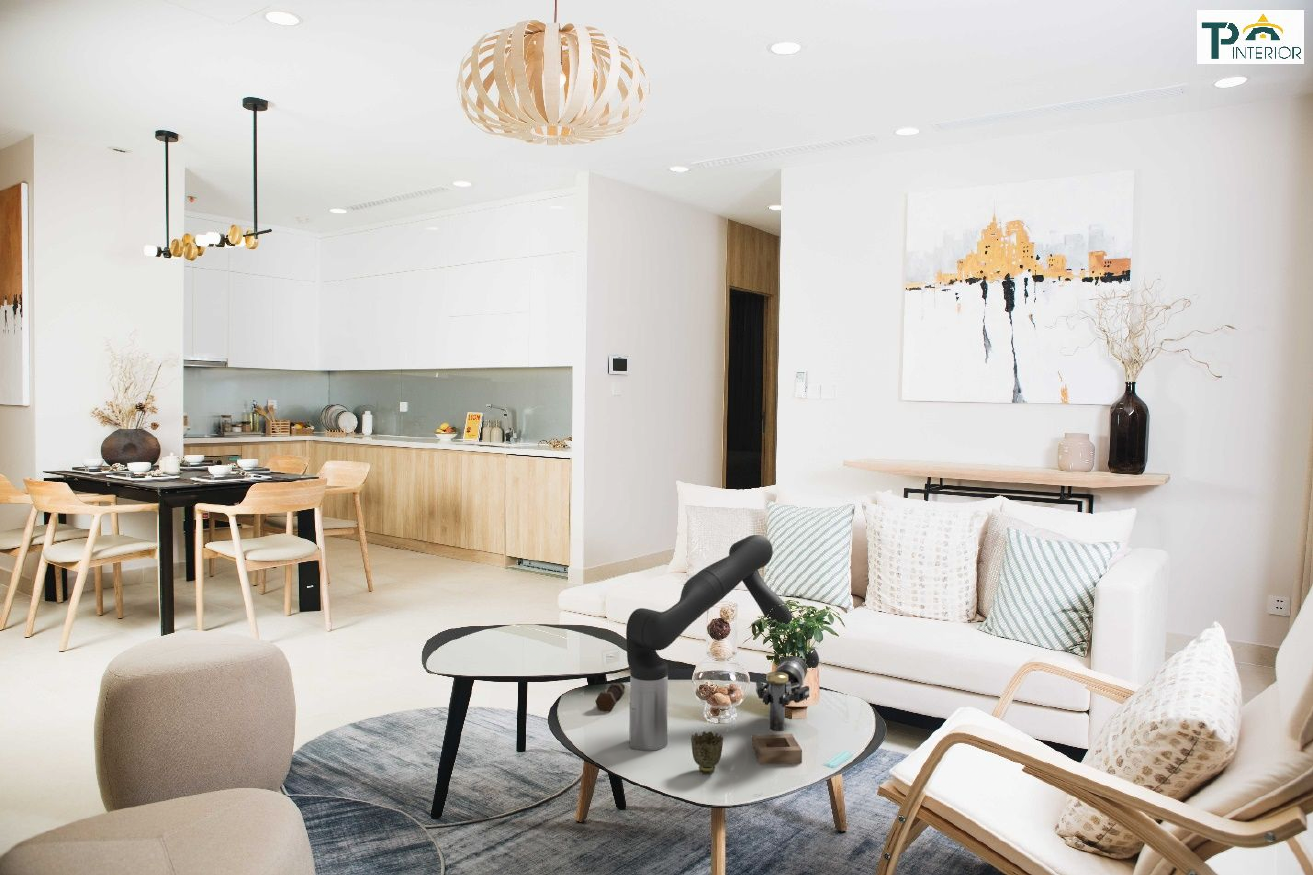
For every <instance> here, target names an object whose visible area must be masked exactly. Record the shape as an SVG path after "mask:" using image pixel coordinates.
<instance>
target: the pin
mask: <svg viewBox="0 0 1313 875" xmlns="http://www.w3.org/2000/svg"><path fill="white" fill-rule="evenodd" d="M765 676H766V678H765V680H766V682H770V702H769V709H768V710H769V714H768V715H769V720H768V721H769V725H768V726H769V730H771V731H773V732H783V731H785V718H786V716H785V712H786V711H785V710H786V709H785V707H782V697H783V696H784V694H785V683H787V682H788V674H786V673H783V672H775V671H770V672H767V673H766V675H765Z"/></svg>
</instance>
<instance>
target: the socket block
mask: <svg viewBox="0 0 1313 875" xmlns="http://www.w3.org/2000/svg"><path fill="white" fill-rule="evenodd" d="M751 749H752V751H753V753H754V752H755V753H754V755H755V756H756V759H757V761H758V763H759V764H760V765H770V764H774V765H775V764H776V765H777V764H802V763H803V749H802V748H801V746H800V744H799V743H798V741H797V740H796V738H795V736H794V735H793V733H780V734H778V733H777V734H751Z"/></svg>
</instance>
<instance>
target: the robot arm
mask: <svg viewBox="0 0 1313 875" xmlns="http://www.w3.org/2000/svg"><path fill="white" fill-rule="evenodd" d="M773 549H774V548H773V545H772V543H771V541H770V540H769V539H768V538H767V537H765V536H763V535H760V534H753V535H749V536H746V537H744V538H742V539H740V540H738V541H736V542H734V543H733V544H732V545H731V546H730V548H729V551H728V555H727V556H725V557H724V558H721V559H719V560H718V561H716V562H713V563H712V564H709V565H707V566H706V567H704V568H703V569H701V570H700V571H698V572H696V573H695V574H694V575H693V576H691V577H690V578H689V579H688V580H687V581H686V582H685V583H684V585H683V587H682V588H681V593H680V597H679V598H680V599H679V601H677V602H676V604H674V605H672V607H670V608H669V609H666V610H665V611H657V610H653V609H650V608H643V607H640V608H639V607H638V608H637V609H634V610H633V611H632V612H631V614H630V615H629V617H628V619H627V624H626V629H625V636H626V637H625V639H626V642H625V643H626V660H627V664H628V667H629V671H630V672H629V674H630V676H629V677H630V679H629V680H630V686H629V687H630V690H629V691H630V692H629V693H630V694H629V697H630V698H629V699H630V702H629V728H628V729H629V734H628V735H629V746H630V749H635V750H636V749H637V750H641V751H657V750H661V749H664V748H666V747H667V745H668V709H669V708H668V702H669V700H668V698H669V697H668V696H669V692H668V691H669V689H668V684H669V683H668V681H669V674H668V673H669V667H668V663H667V662H666V661H665V660H664V658H663V657H661V656H660V655H659V653H658V651H662V650H665V649H667V648H668V647H670V646H671V645H672V644H673V643H674V642H675V641H676V640H677V639H678V638H679V637H680V636H681V635H682V634H683V633H684V631H686V629H688V628H689V627H690V626H691V625H692V624H693V623H694V622H695V621H697V620H698V619H699V618H700V617H701V616H702V615H703V614H705V613H706V612H707V611H708V610H710V609H711V608H713V607H714V606H715V605H717V604H718V603H719V602H720V601H721V600H723V599H724V597H726V596H727V595H728V594H729V593H730V592H732V591H733V590H734V589H735V588H736V587H738V585H739V584H740V583H741V582H742V583H743V585H744V586H745V588H746V589H747V591H748V592H749V593H750V595H751V596H752V598H753V599H754V602H756V605H757V606H758V607H759V609H760V610H761V613H762V614H763V616H764V618H765V617H767V615H768V614H769V616H768V617H767V618H769V617H771V618H774V619H776V620H777V621H779V622H783V623H785V624H788V623H789V622H790V621H791V620H792V618H794V617H793V614H792V613H791V612H792V611H791V610H790V608H789V607H788V606H786V605H787V604H786V602H784V600H783V599H782V598H780V596H778V595H777V594H776V593H775V591H773V590H772V589H771V588H770V587H769V586H768V584H767V583H766V582H765V581H764V579H763V577H762V576H761V574H760V571H759V570H760V569H761V568H764V567H766V566H767V565H768V564H769V563H770V561H771V560H772V557H773V551H774V550H773ZM782 604H786V605H782ZM779 605H781V606H779ZM775 606H776V607H775ZM772 608H773V610H771V609H772ZM789 610H790V611H789ZM770 611H771V612H770ZM775 624H776V622H774V623H772V624H771V625H770V626H769V625H768V627H769V629H770V630H771V627H775ZM811 651H812V650H810V651H809V652H808V654H806V659H807V661H806V663H805V661H804V660H803V659H802V658H800V657H798V656H790V657H787V658H784V657H780V656H779V658H780V661H779V665H778V666H777V668H776V669H775V671H774V672H783V673H786V674H788V682H787V683H785V694H784V696H783V697H782V707H786V706H789V705H790V703H792V702H794V703H796V704H798V703H800V702H803V701H805V700H806V699H809V698H810V686H808V685H804V682H805V678H806V677H807V673H808V671H807V665H808V667H809V668H811V667H812V668H815V669H816V668H818V666H819V664H820V657H819V654H818V653H819V652H817V650H816V649H815V648H814V651H813V652H812V653H811ZM813 661H814V662H815V663H814V662H813ZM780 664H781V665H780ZM806 664H807V665H806ZM755 692H756V695H757V696H758V699H760V700H761V699H762V704H763V703H764V705H766V706H768V705H770V682H768V681H766V683H764V682H761V680H755Z"/></svg>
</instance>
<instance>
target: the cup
mask: <svg viewBox="0 0 1313 875" xmlns="http://www.w3.org/2000/svg"><path fill="white" fill-rule="evenodd" d="M690 743H691V750H692V752H691V753H692V757H693V760H694V762H695V764H697V765H698V769H699V771H700V773H702V774H712V773H714V771H715V768H716V766H717V765H718V764H719V762H720V761H721V758H722V752H723V744H724V738H723V735H722V734H718V732H716V733H714V732H713V731H710V730H709V731H708V732H706V731H705V730H703V731H702V733H701V734H698V733H697V732H695V733H694V734H691V737H690Z"/></svg>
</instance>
